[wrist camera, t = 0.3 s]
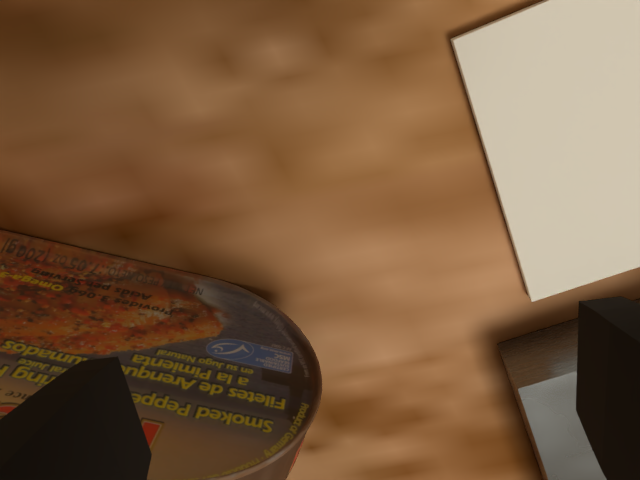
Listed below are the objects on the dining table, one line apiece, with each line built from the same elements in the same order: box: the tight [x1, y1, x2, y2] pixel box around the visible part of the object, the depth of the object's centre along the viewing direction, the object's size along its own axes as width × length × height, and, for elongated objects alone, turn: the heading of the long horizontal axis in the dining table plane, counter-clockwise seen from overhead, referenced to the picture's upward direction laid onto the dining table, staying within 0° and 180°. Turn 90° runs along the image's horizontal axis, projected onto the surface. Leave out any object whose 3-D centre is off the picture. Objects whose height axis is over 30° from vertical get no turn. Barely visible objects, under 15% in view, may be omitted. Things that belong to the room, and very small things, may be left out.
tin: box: [0, 230, 322, 480], centre depth 16 cm, size 15×3×8 cm, turn 75°
